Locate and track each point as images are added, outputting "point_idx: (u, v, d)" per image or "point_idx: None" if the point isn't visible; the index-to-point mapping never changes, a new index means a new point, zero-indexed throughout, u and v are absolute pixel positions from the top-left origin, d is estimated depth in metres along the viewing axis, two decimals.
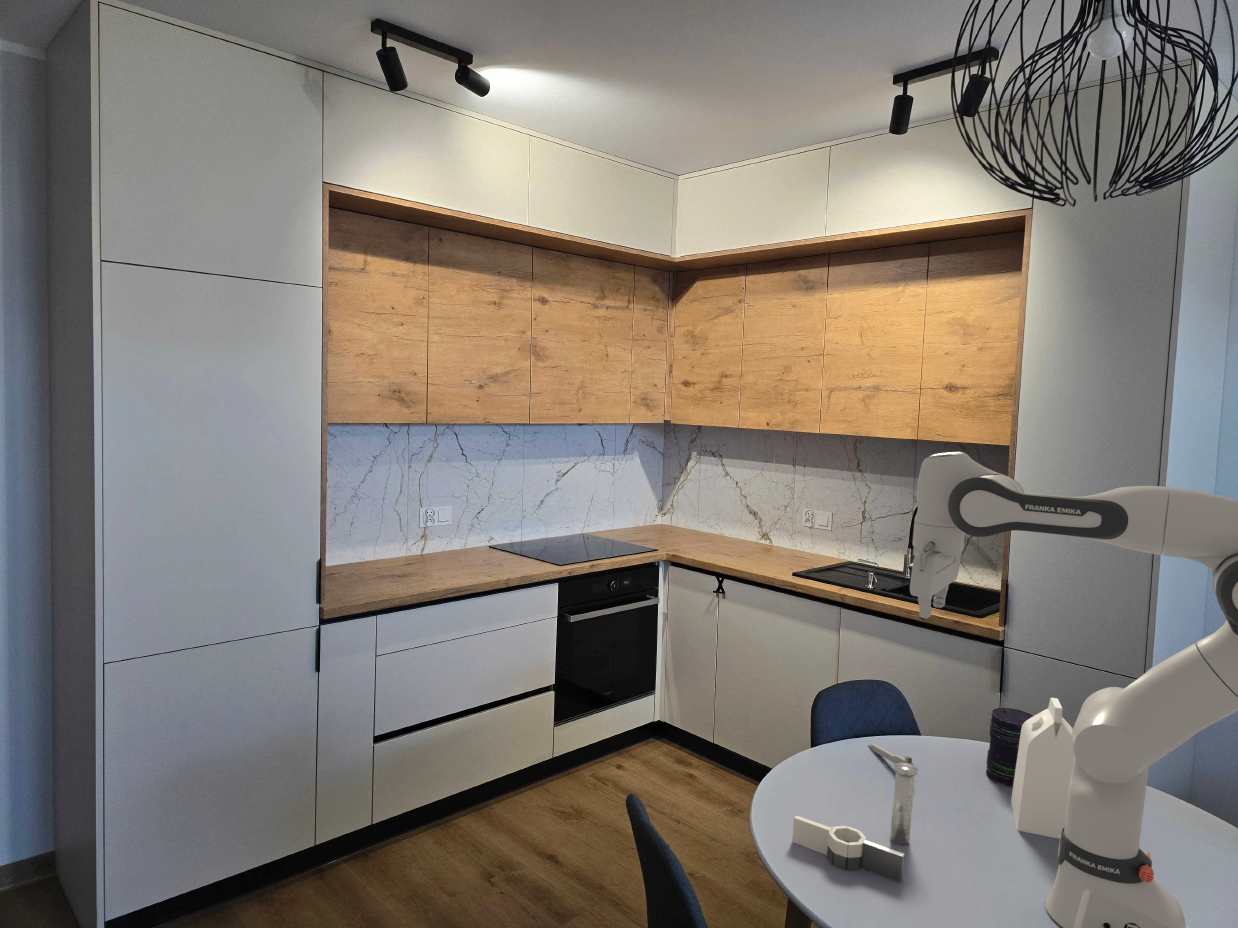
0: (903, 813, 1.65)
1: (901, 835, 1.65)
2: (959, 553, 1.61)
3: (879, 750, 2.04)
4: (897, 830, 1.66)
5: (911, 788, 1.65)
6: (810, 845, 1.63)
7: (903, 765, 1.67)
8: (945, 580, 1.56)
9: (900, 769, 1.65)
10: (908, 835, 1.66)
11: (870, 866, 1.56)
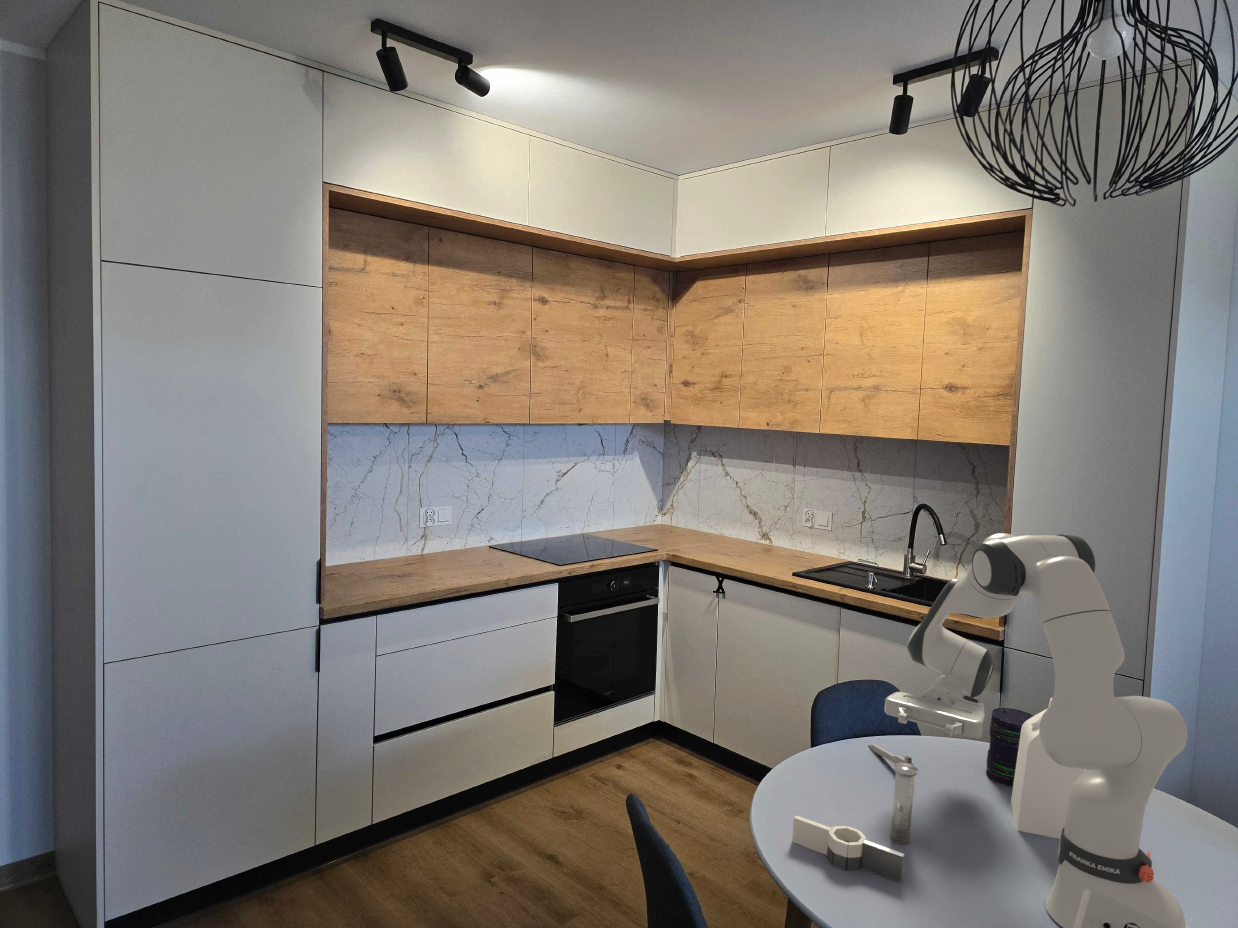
0: (903, 813, 1.65)
1: (901, 835, 1.65)
2: (976, 710, 1.79)
3: (879, 750, 2.04)
4: (897, 830, 1.66)
5: (911, 788, 1.65)
6: (810, 845, 1.63)
7: (903, 765, 1.67)
8: (935, 708, 1.80)
9: (900, 769, 1.65)
10: (908, 835, 1.66)
11: (870, 866, 1.56)
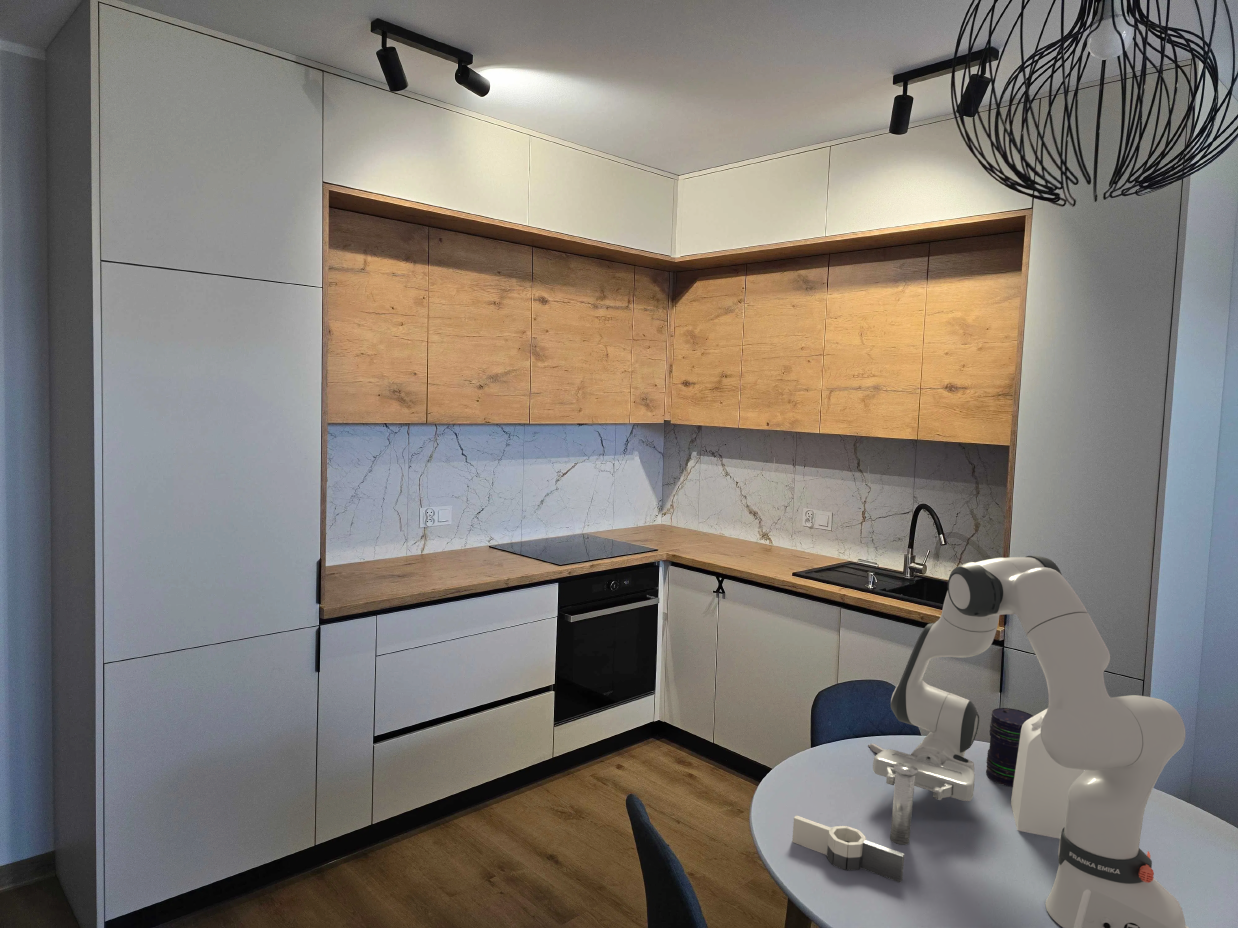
0: (903, 813, 1.65)
1: (901, 835, 1.65)
2: (966, 771, 1.75)
3: (879, 750, 2.04)
4: (897, 830, 1.66)
5: (911, 788, 1.65)
6: (810, 845, 1.63)
7: (903, 765, 1.67)
8: (924, 769, 1.76)
9: (900, 769, 1.65)
10: (908, 835, 1.66)
11: (870, 866, 1.56)
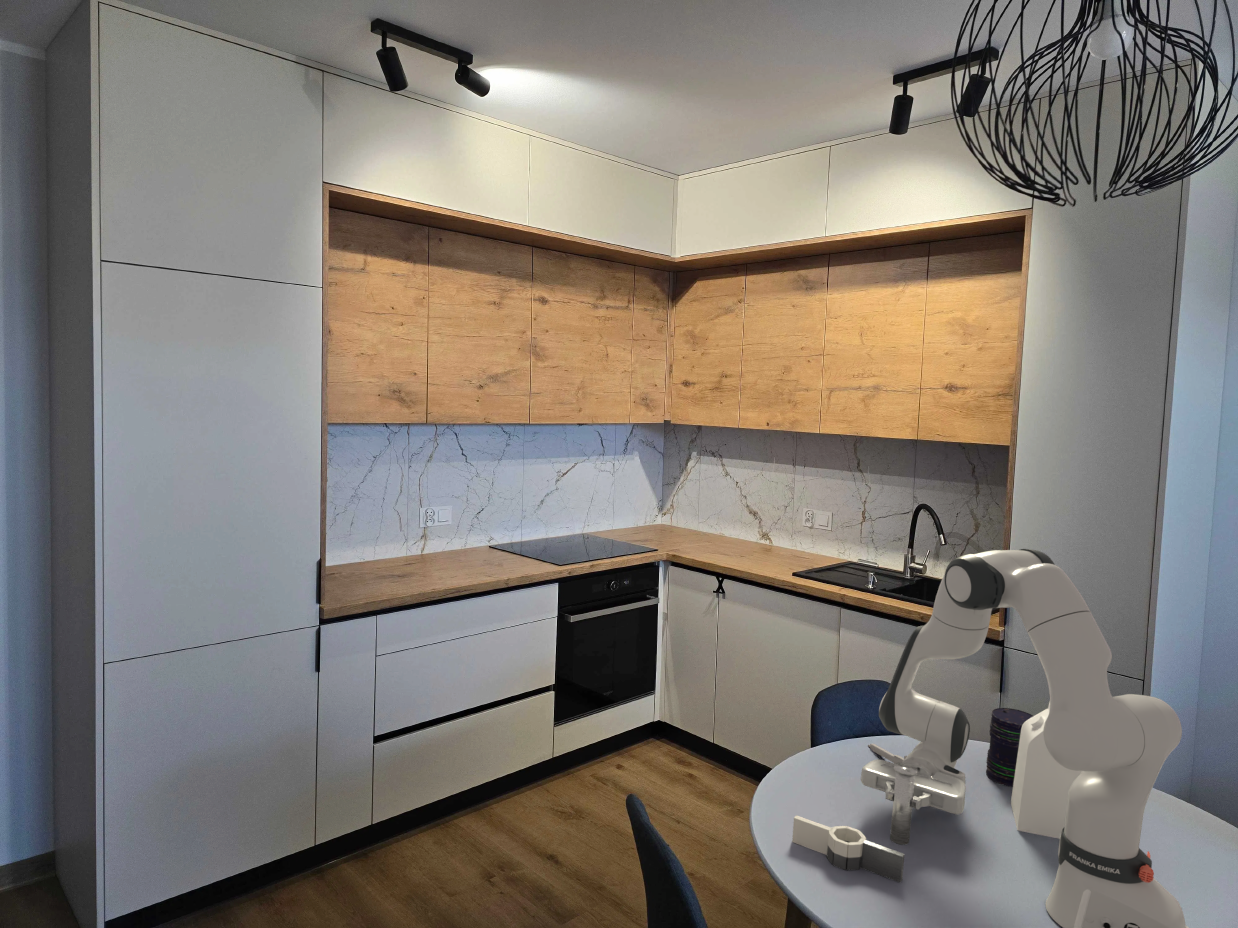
0: (903, 813, 1.65)
1: (901, 835, 1.65)
2: (957, 783, 1.69)
3: (879, 750, 2.04)
4: (897, 830, 1.66)
5: (911, 788, 1.65)
6: (810, 845, 1.63)
7: (903, 765, 1.67)
8: (914, 781, 1.70)
9: (900, 769, 1.65)
10: (908, 835, 1.66)
11: (870, 866, 1.56)
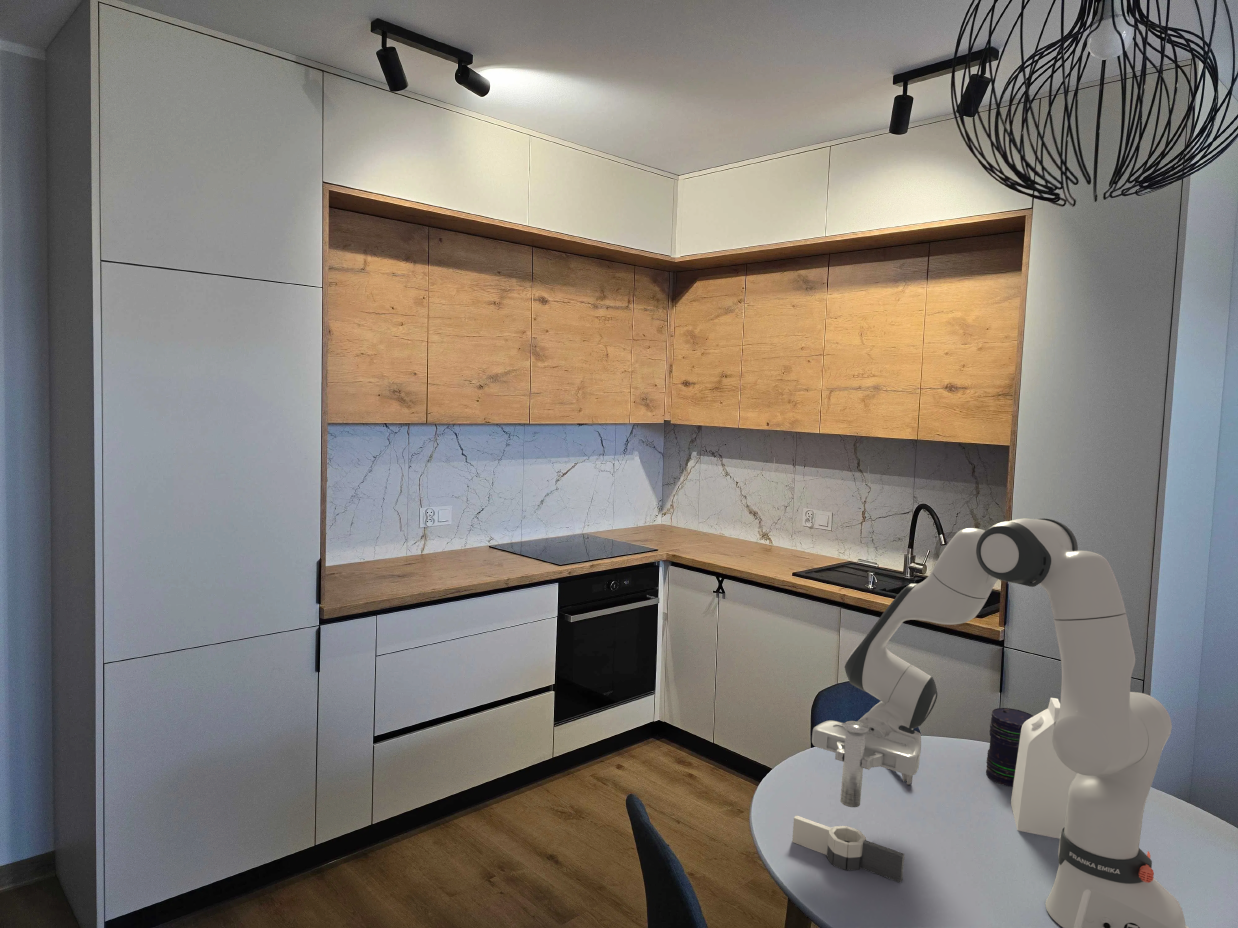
0: (853, 773, 1.56)
1: (851, 797, 1.56)
2: (912, 743, 1.60)
3: None
4: (847, 792, 1.56)
5: (861, 747, 1.55)
6: (810, 845, 1.63)
7: (854, 723, 1.57)
8: (866, 741, 1.61)
9: (850, 727, 1.56)
10: (858, 797, 1.57)
11: (870, 866, 1.56)
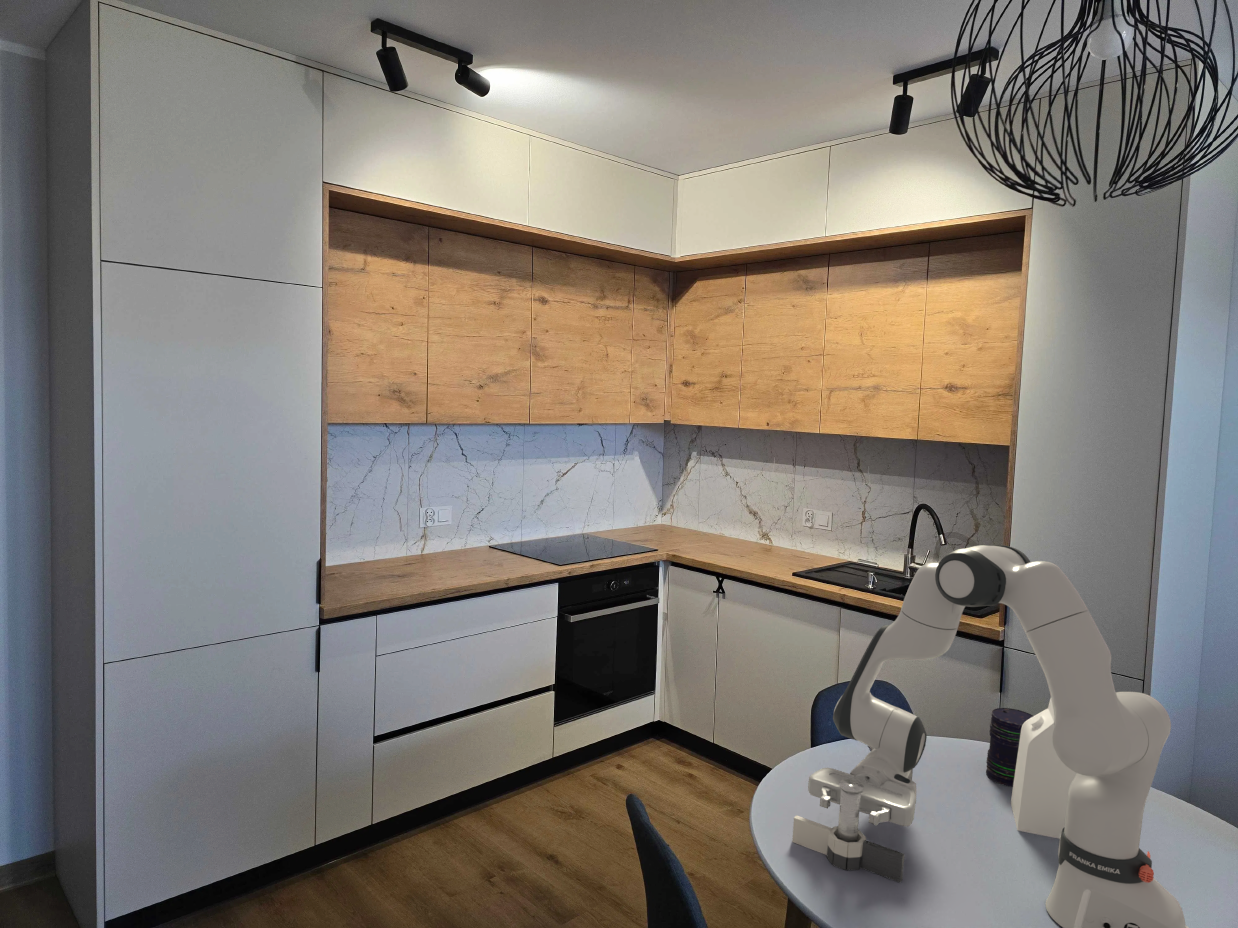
0: (848, 832, 1.57)
1: None
2: (907, 793, 1.61)
3: None
4: None
5: (856, 806, 1.57)
6: (810, 845, 1.63)
7: (849, 782, 1.58)
8: None
9: (845, 786, 1.57)
10: None
11: (870, 866, 1.56)
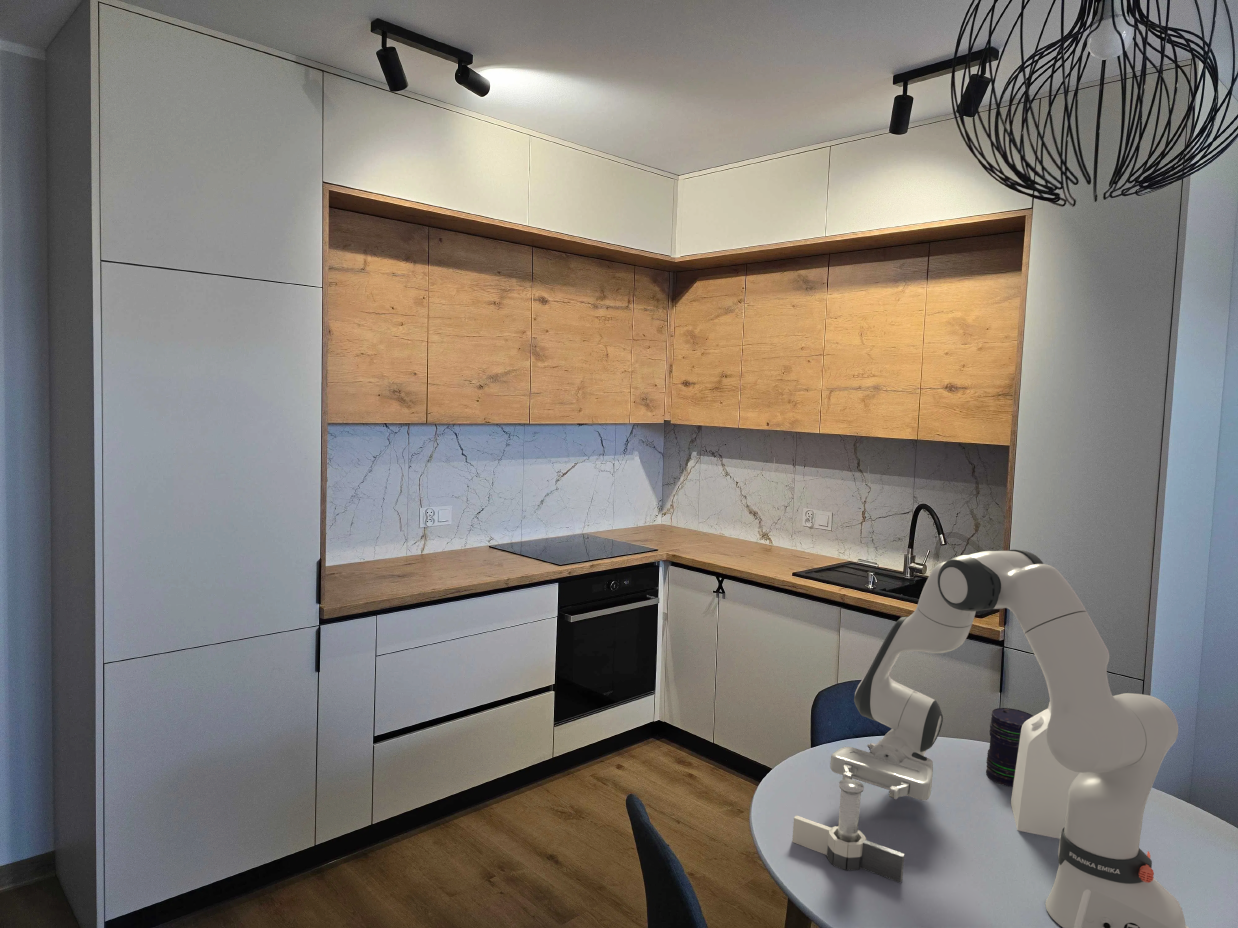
0: (848, 832, 1.57)
1: None
2: (924, 769, 1.71)
3: None
4: None
5: (856, 806, 1.57)
6: (810, 845, 1.63)
7: (849, 782, 1.59)
8: (881, 767, 1.72)
9: (845, 786, 1.57)
10: None
11: (870, 866, 1.56)
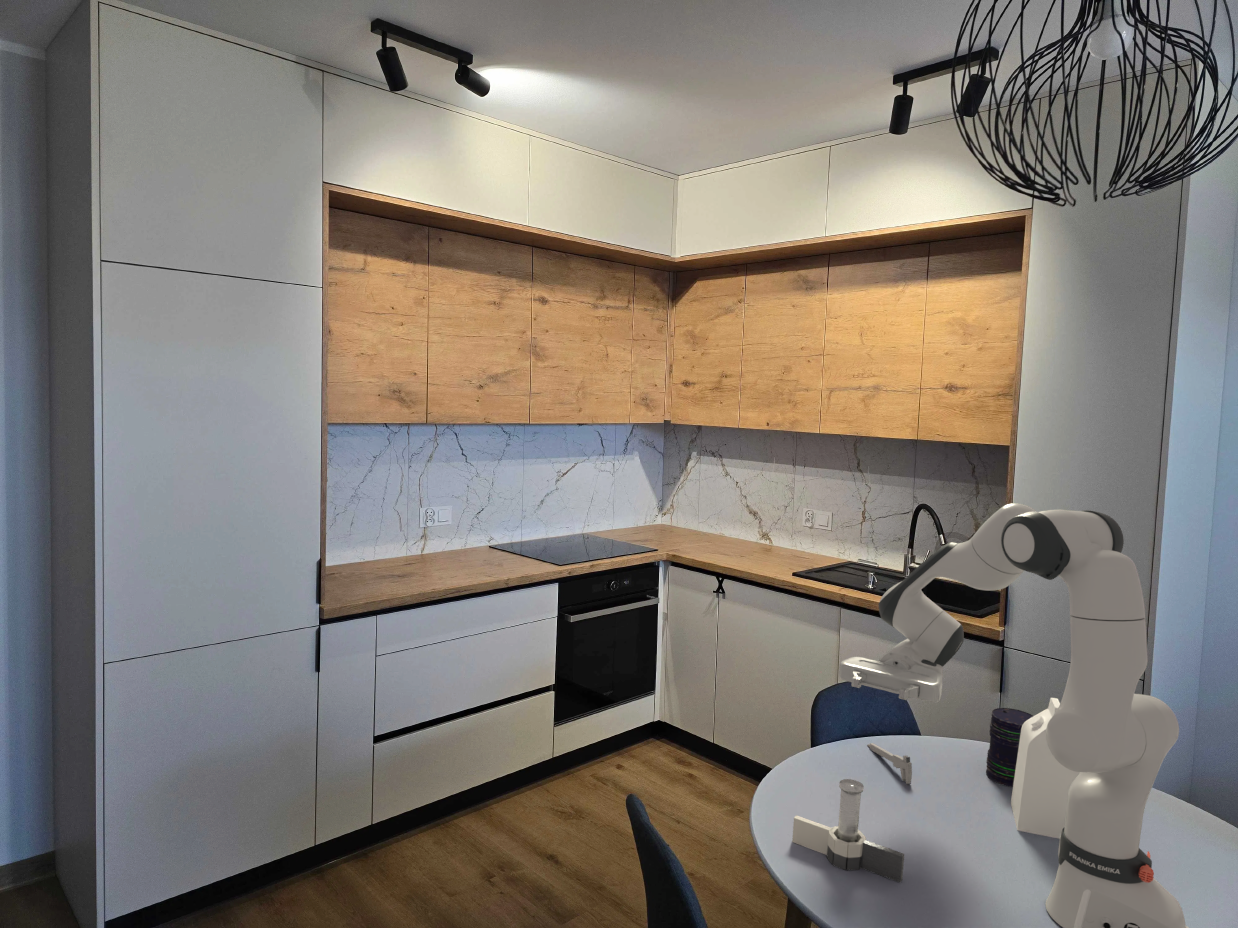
0: (848, 832, 1.57)
1: None
2: (934, 674, 1.70)
3: (878, 749, 2.05)
4: None
5: (856, 806, 1.57)
6: (810, 845, 1.63)
7: (849, 782, 1.58)
8: (891, 672, 1.71)
9: (845, 786, 1.57)
10: None
11: (870, 866, 1.56)
